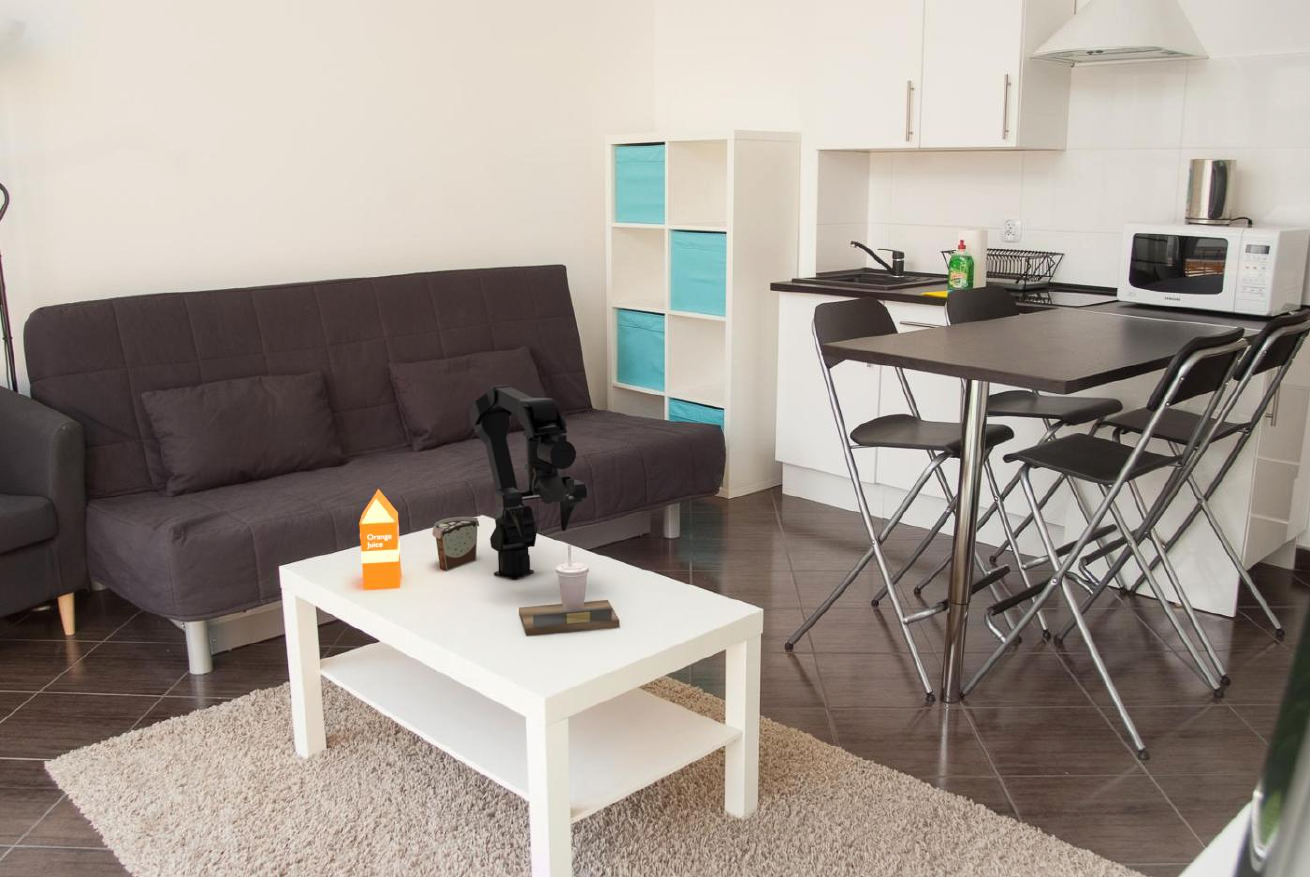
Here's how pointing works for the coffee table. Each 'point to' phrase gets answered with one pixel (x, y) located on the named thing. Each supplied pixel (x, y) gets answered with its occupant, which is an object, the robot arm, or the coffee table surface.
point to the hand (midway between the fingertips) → (543, 533)
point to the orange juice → (380, 545)
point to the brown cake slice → (456, 541)
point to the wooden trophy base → (568, 618)
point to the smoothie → (572, 583)
